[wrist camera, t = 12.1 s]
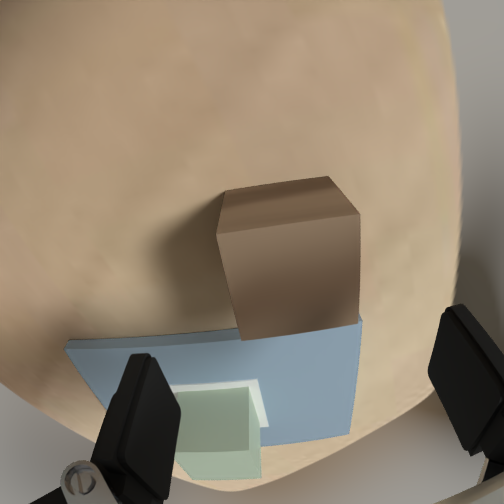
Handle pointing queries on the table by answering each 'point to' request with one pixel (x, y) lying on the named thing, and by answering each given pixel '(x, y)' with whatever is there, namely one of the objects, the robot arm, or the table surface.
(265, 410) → the board
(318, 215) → the walnut block
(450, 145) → the table surface
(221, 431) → the sage block
